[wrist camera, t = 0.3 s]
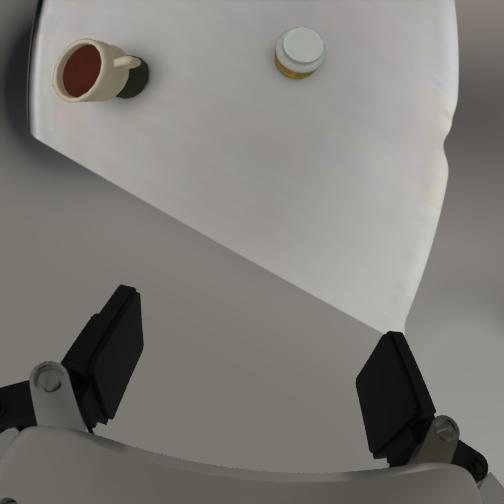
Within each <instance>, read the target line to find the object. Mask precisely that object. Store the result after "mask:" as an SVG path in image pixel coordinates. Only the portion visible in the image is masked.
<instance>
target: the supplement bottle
mask: <svg viewBox="0 0 504 504" xmlns="http://www.w3.org/2000/svg"><path fill="white" fill-rule="evenodd" d="M325 55H326V49H325V45H324V43H323V40H322V38H321V37H320V35H319V34H318V33H317V32H315V31H314V30H312V29H309V28H305V27H298V28H294V29H291V30H288V31H286V32H285V33H283V34H282V35H281V36H280V37H279V39H278V41H277V43H276V48H275V63H276V66H277V68H278V70H279V71H280V72H281V73H282V74H283V75H285V76H287V77H290V78H294V79H302V78H305V77H307V76H309V75H311V74H312V73H313V72H314V71H315V70H316V69H317V68H318V67H320V65H321V64H322V63H323V61H324V59H325Z"/></svg>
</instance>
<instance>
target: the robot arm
mask: <svg viewBox="0 0 504 504" xmlns="http://www.w3.org/2000/svg"><path fill="white" fill-rule="evenodd" d="M143 345H144V344H143V331H142V317H141V300H140V293H138V292H136V289H135V288H134V287H130V286H125V285H120V286H119V287H118V288H117V290H116V291H115V292H114V294H113V295H112V296H111V298H110V299H109V300H108V302H107V303H106V305H105V306H104V307H103V309H102V310H101V312H100V313H99V314H97V313H96V314H94V315H93V316H92V317H91V319H90V320H89V322H88V323H87V324H86V326H85V327H84V329H83V330H82V331H81V333H80V334H79V336H78V337H77V339H76V340H75V342H74V343H73V345H72V346H71V348H70V349H69V351H68V352H67V354H66V355H65V357H64V359H63V360H62V362H61V364H59V363H57V362H53V361H47V362H43V363H40V364H38V365H37V366H36V367H35V368H34V369H33V370H32V371H31V374H30V376H29V380H28V381H24V382H20V383H16V384H13V385H9V386H5V387H1V388H0V504H504V488H503V487H502V485H501V484H500V483H499V482H498V480H497V479H496V478H495V477H494V476H493V474H492V473H491V472H490V473H488V464H487V461H486V459H485V457H484V456H483V455H482V454H480V453H479V452H477V451H476V450H474V449H473V448H471V447H469V446H468V445H467V444H465V443H464V442H462V441H461V440H459V434H460V433H459V428H458V426H457V424H456V422H455V421H454V420H453V419H451V418H450V417H448V416H445V415H440V416H437V417H436V418H435V416H434V413H435V412H436V410H435V407H434V405H433V402H432V399H431V397H430V395H429V392H428V389H427V387H426V384H425V382H424V380H423V377H422V375H421V373H420V370H419V368H418V366H417V363H416V361H415V359H414V356H413V355H412V352H411V350H410V348H409V345H408V344H407V341H406V339H405V337H404V335H403V333H401V332H394V331H388V332H387V333H386V334H384V335H383V336H382V337H381V339H380V340H379V342H378V344H377V346H376V347H375V349H374V351H373V352H372V354H371V356H370V357H369V359H368V360H367V362H366V364H365V365H364V367H363V368H362V370H361V372H360V373H359V375H358V376H357V379H356V388H357V393H358V397H359V402H360V406H361V411H362V416H363V420H364V425H365V430H366V435H367V440H368V446H369V450H370V452H371V453H373V457H374V459H380V458H387V463H386V465H385V467H384V468H383V469H373V470H363V471H351V472H333V473H288V472H268V471H257V470H245V469H238V468H229V467H223V466H216V465H210V464H204V463H198V462H193V461H188V460H184V459H179V458H175V457H171V456H166V455H162V454H159V453H155V452H151V451H147V450H143V449H140V448H136V447H132V446H130V445H126V444H123V443H120V442H117V441H114V440H111V439H107V438H104V437H101V436H98V435H96V434H95V432H94V429H93V428H95V427H96V425H97V422H100V423H102V424H105V425H106V424H107V422H108V419H113V418H114V416H115V414H116V411H117V409H118V406H119V404H120V401H121V399H122V397H123V394H124V392H125V390H126V387H127V385H128V383H129V380H130V378H131V376H132V373H133V371H134V369H135V366H136V364H137V362H138V360H139V357H140V355H141V353H142V350H143ZM487 473H488V474H487Z"/></svg>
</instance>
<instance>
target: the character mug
mask: <svg viewBox="0 0 504 504" xmlns="http://www.w3.org/2000/svg"><path fill="white" fill-rule="evenodd" d="M147 77H148V68H147V64H146V63H145V62H144V61H143V60H142V59H141V58H139V57H135V56H129V55H126V54H125V53H124V51H123V50H122V49H121V48H119V47H117V46H114V45H109V44H107V43H104V42H101V41H96V40H92V39H80V40H77V41H75V42H73V43H72V44H71V45H69V46H68V47H67V48H66V49H65V50H64V52H63V53H62V54H61V55H60V57H59V59H58V61H57V64H56V66H55V68H54V75H53V82H52V86H53V87H54V89H55V91H56V93H57V94H58V96H59V97H60V98H61V99H63V100H65V101H67V102H89V101H107V100H109V99H111V98H113V97H115V96H116V97H119V98H124V99H125V98H130V97H134V96H135V95H137V94H138V93H139V92H141V91H142V89H143V87H144V86H145V84H146V82H147Z"/></svg>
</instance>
